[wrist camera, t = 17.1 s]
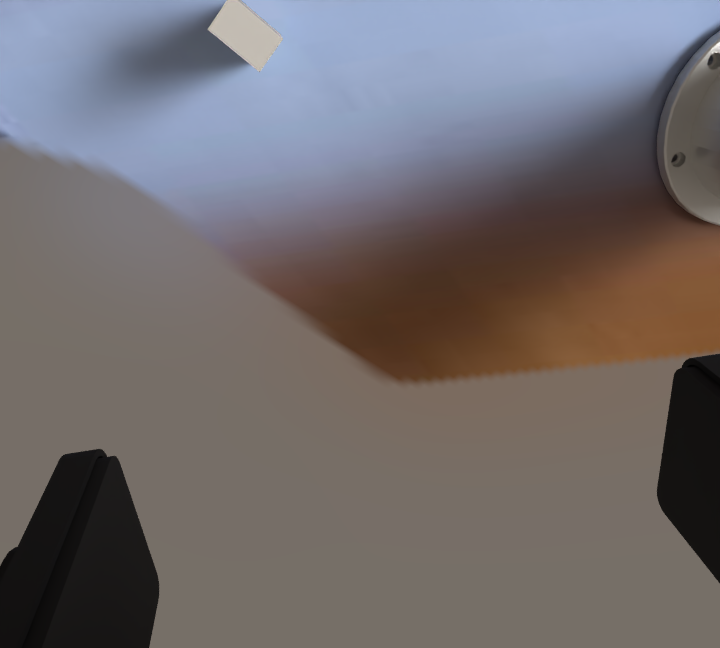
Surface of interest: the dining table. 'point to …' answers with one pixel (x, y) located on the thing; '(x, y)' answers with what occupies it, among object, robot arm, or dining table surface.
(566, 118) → the dining table surface
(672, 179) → the robot arm
